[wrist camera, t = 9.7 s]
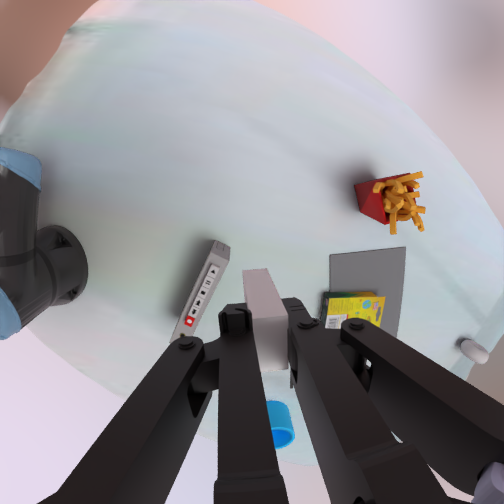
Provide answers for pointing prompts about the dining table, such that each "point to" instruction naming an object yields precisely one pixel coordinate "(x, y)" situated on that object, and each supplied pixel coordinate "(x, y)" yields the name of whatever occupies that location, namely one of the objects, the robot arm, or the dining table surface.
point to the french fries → (391, 200)
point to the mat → (373, 279)
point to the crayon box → (350, 308)
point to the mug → (280, 424)
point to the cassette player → (202, 290)
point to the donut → (474, 351)
